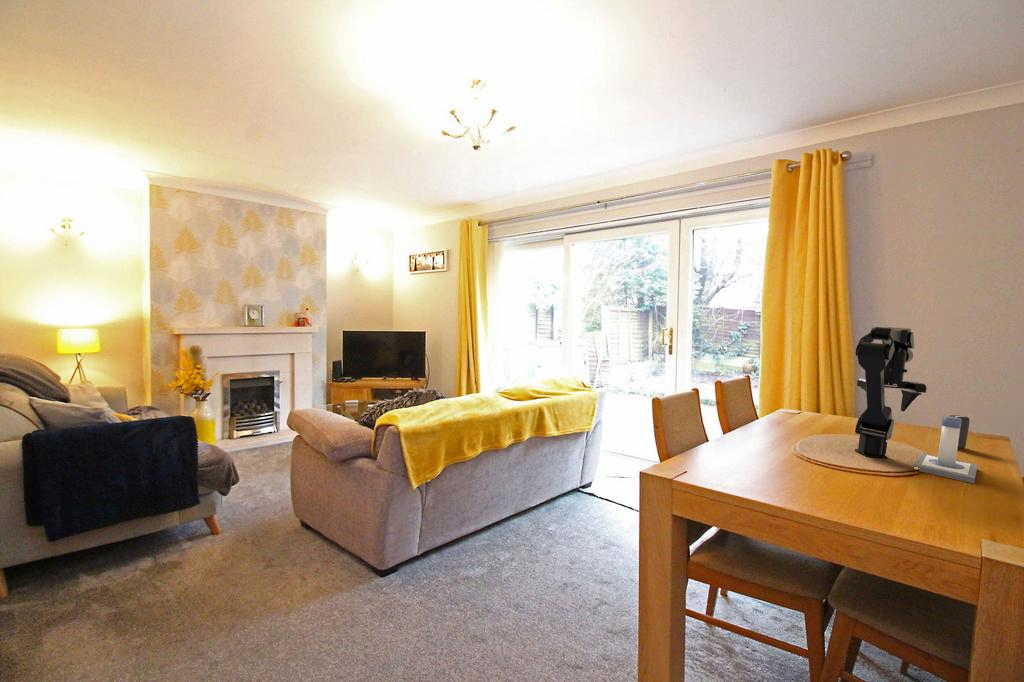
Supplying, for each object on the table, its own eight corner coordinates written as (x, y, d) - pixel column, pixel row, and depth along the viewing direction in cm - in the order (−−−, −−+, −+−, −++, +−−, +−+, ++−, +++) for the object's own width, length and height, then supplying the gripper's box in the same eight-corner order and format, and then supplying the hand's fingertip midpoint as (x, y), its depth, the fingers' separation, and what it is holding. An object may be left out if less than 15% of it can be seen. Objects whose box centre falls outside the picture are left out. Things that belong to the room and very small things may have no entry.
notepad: (974, 483, 132) (974, 477, 132) (913, 469, 142) (914, 463, 141) (976, 469, 145) (977, 463, 145) (920, 457, 154) (921, 452, 154)
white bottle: (935, 462, 143) (940, 417, 142) (938, 460, 146) (944, 415, 145) (954, 467, 140) (960, 420, 139) (957, 464, 143) (963, 418, 141)
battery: (953, 445, 171) (958, 413, 170) (966, 448, 168) (971, 416, 167) (939, 445, 170) (944, 414, 168) (952, 449, 166) (956, 417, 165)
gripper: (906, 363, 168) (900, 406, 169) (850, 359, 170) (844, 403, 171) (930, 368, 157) (924, 414, 158) (870, 364, 159) (864, 410, 160)
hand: (887, 410), depth 162 cm, fingers open, 9 cm apart
